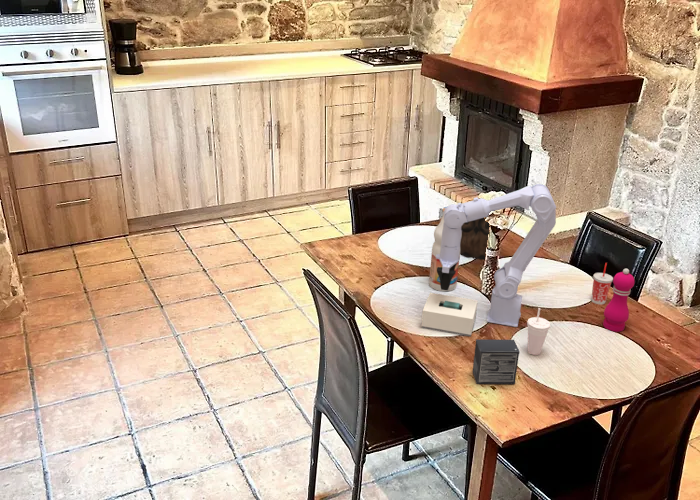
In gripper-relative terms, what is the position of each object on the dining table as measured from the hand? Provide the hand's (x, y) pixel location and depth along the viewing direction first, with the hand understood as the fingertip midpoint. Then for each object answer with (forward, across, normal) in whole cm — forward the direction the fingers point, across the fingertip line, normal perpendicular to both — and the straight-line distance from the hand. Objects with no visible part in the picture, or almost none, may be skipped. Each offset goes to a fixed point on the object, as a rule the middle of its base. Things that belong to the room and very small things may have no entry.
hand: (446, 284), depth 209 cm
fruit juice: (+11, -19, -3) cm, 22 cm away
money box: (+10, +5, +2) cm, 12 cm away
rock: (+11, -50, +6) cm, 52 cm away
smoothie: (+11, +14, +28) cm, 33 cm away
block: (+10, +5, +3) cm, 11 cm away
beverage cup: (+10, -25, +48) cm, 55 cm away
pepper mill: (+10, -9, +52) cm, 54 cm away
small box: (+11, +30, +18) cm, 37 cm away
